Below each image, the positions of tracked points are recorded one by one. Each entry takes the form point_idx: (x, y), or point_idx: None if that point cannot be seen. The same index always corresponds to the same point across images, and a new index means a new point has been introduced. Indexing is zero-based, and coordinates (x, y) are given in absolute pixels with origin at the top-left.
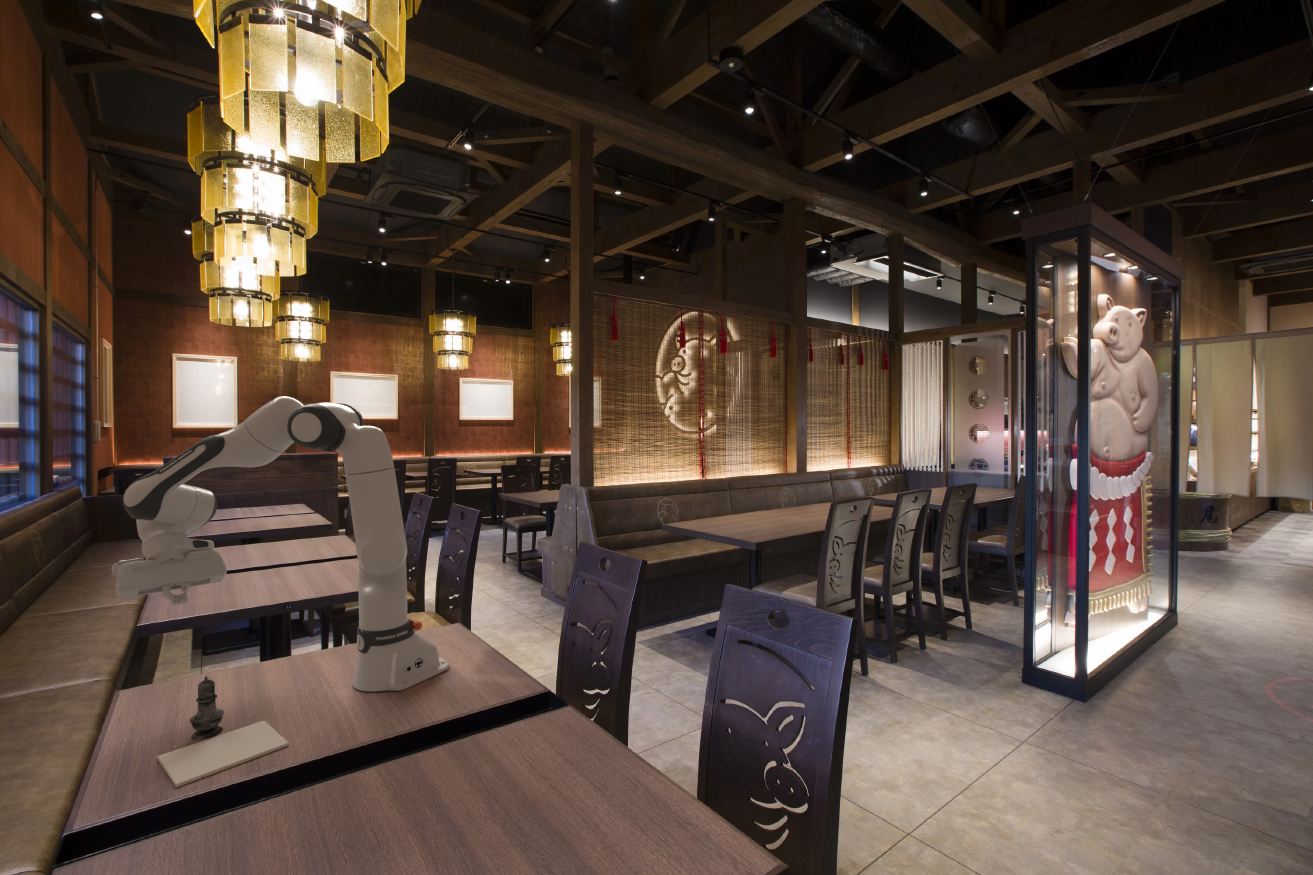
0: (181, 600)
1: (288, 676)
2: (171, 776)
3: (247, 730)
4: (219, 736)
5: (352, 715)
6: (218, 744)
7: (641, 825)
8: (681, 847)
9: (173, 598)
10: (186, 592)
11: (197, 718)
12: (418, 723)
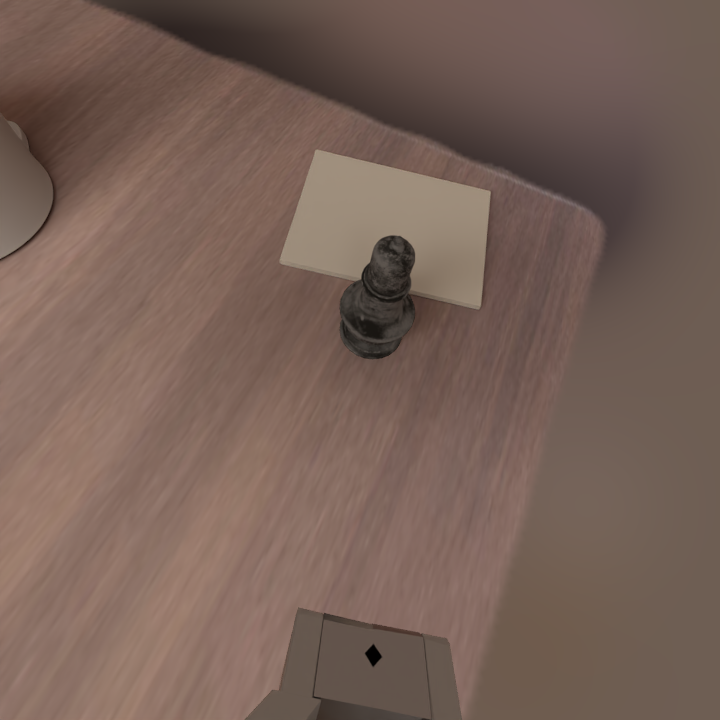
0: (356, 621)
1: (9, 488)
2: (487, 217)
3: (326, 250)
4: None
5: (171, 141)
6: None
7: None
8: None
9: (434, 667)
10: (276, 697)
11: (403, 301)
12: (151, 37)
